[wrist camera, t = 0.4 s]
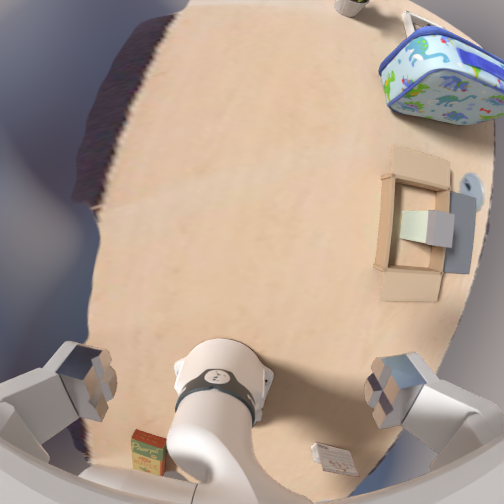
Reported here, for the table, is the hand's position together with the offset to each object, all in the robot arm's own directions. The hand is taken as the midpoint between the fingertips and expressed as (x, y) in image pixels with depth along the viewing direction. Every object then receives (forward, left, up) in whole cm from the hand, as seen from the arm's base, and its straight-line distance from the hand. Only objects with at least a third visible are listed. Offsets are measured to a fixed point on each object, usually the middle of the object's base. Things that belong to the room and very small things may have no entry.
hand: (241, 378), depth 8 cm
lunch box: (+33, -33, -39) cm, 61 cm away
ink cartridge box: (-47, -22, -39) cm, 65 cm away
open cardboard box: (+6, -28, -39) cm, 48 cm away
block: (+6, -28, -39) cm, 48 cm away
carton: (-54, +22, -40) cm, 71 cm away
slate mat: (+6, -41, -39) cm, 57 cm away
